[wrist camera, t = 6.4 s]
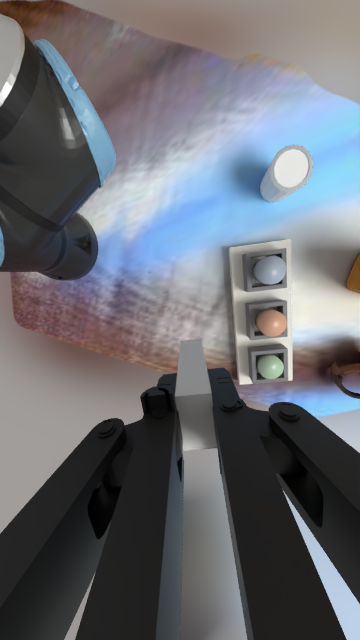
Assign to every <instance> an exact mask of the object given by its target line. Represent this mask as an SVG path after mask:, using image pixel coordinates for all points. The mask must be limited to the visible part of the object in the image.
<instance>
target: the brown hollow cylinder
mask: <svg viewBox="0 0 360 640" xmlns="http://www.w3.org/2000/svg"><path fill="white" fill-rule="evenodd" d="M358 354H359V355H360V352H358ZM331 370H332V372H331V375H332V378H333V380H334V382H335V384H336V385H337V386H338V387H339V388H340V389H341V390H342V391H343V392H344V393H345V394H347V395H348V396H351V397H353V398H357V399H360V394H358V393H354V392H351V391H349V390H347V389H346V388H345V387H344V386H343V385H342V377H341V376H340V375H341V374H342V373H343V374H345V375H347V374H350V373H360V364H351V365H345V366H342V367H340V368H339V367H338V366H337V363H336V362H334V363H333V364H332V365H331Z"/></svg>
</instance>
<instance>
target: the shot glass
mask: <svg viewBox="0 0 360 640" xmlns="http://www.w3.org/2000/svg"><path fill="white" fill-rule="evenodd" d="M312 170H313V159H312V157H311V155H310V153H309V151H308V150H307V149H305V148H304V147H303V146H299V145H290V146H286V147H284V148H283V149H282V150H280V151H279V152H278V153H277V154H276V156H275V157H274V159H273V160H272V162H271V164H270V166H269V168H268V170H267V172H266V174H265V176H264V178H263V180H262V182H261V186H260V192H261V195H262V197H263V199H265V200H266V201H268V202H272V203H274V202H278V201H280V200H282V199H284V198H285V197H287V196H288V195H290V194H292V193H293V192H295V191H297V190H298V189H300V188H301V187H303V186H304V185H305V184H306V183H307V181H308V180H309V178H310V177H311V173H312Z"/></svg>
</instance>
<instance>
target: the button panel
mask: <svg viewBox="0 0 360 640" xmlns="http://www.w3.org/2000/svg"><path fill="white" fill-rule="evenodd" d="M228 251H229V265H230V279H231V292H232V306H233V320H234V334H235V348H236V361H237V375H238V382H239V384H240V385H241V384H256V383H268V382H280V381H290V380H292V265H291V239H287V240H279V241H272V242H265V243H258V244H251V245H244V246H237V247H230V248H229V249H228ZM269 256H277V257H280V258H281V259H282V260H283V261H284V262H285V264H286V273H285V276H284V277H283V279H282V280H281V281H280V282H278V283H276V284H272V285H269V284H261V283H259V282H257V281H256V280H255V278H254V276H253V267H254V265H255V264H256V262H257V261H258V260H260V259H262V258H265V257H269ZM264 309H273V310H276V311H278V312H280V313H282V314H283V315H284V316H285V317H286V320H287V326H286V329H285V330H284V332H283V333H282V334H280V335H278V336H275V337H270V336H267V335H265V334H264V333H262V332H261V331H260V330H259V329H258V328H257V327H256V324H255V318H256V316H257V314H258V313H259V312H260V311H262V310H264ZM263 354H275V355H276V356H277V357H278V358H279V359H280V360H281V361H282V363H283V365H284V370H283V372H282V374H281V375H280V376H279V377H277V378H275V379H267V378H264V377H263V376H262V375H261V374H260V372H259V371H258V370H257V368H256V357H257V356H258V355H263Z"/></svg>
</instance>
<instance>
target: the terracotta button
mask: <svg viewBox="0 0 360 640" xmlns="http://www.w3.org/2000/svg"><path fill="white" fill-rule="evenodd" d="M255 324H256V327H257V328H258V329H259V330H260V331H261V332H262V333H264V334H265V335H267V336H270V337H275V336H278V335H280V334H282V333H283V332H284V330H285V329H286V326H287V320H286V317H285V316H284V315H283V314H282V313H280V312H278V311H276V310H273V309H264V310H262V311H260V312H259V313H258V314H257V316H256V318H255Z"/></svg>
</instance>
